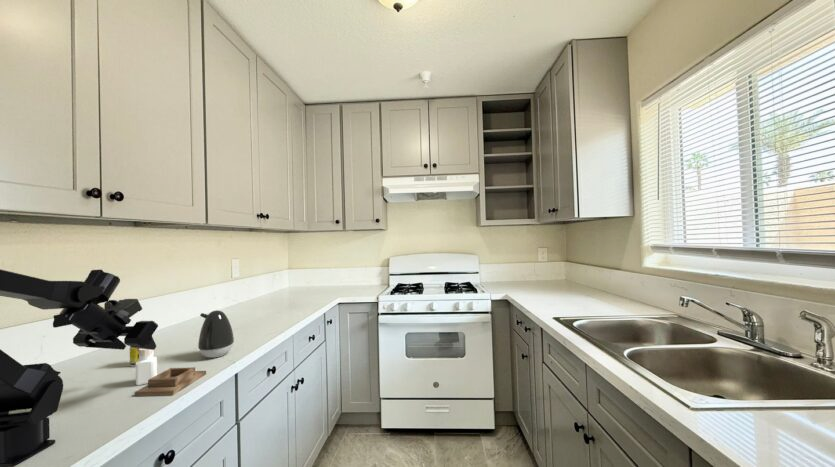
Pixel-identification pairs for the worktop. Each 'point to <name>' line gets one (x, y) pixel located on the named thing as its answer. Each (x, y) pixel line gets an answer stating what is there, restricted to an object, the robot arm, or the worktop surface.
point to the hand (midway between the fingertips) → (139, 347)
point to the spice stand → (170, 382)
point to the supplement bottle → (134, 356)
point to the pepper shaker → (145, 366)
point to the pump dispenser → (215, 335)
